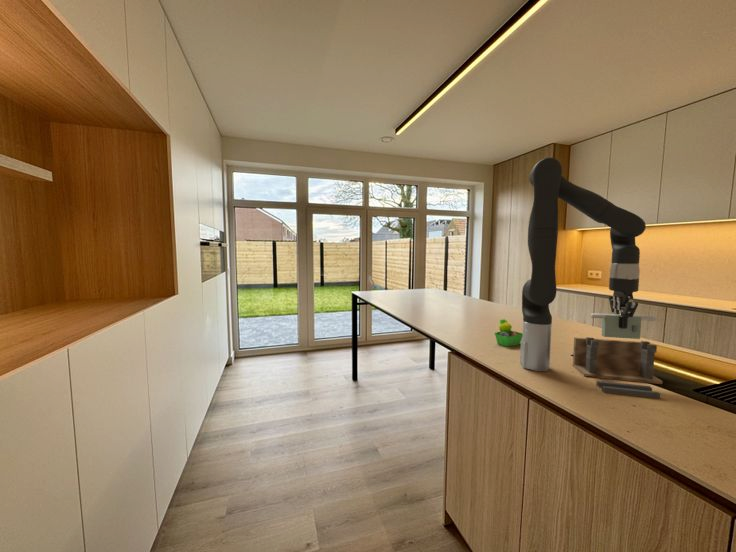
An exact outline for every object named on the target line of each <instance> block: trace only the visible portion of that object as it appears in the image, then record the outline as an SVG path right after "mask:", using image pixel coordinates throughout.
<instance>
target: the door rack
mask: <svg viewBox="0 0 736 552" xmlns="http://www.w3.org/2000/svg"><path fill="white" fill-rule="evenodd" d="M595 385H596V386H597V387H598V386H599V387H598V388H601V391H602V392H603V393H606V392H609V393H608V394H615V393H617V395H625V396H635V397H645V398H651V397H653V399H661V392H659V391H653V387H651V386H650V385H642V384H631V383H624V382H611V381H604V380H603V381H602V380H596V382H595Z"/></svg>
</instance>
